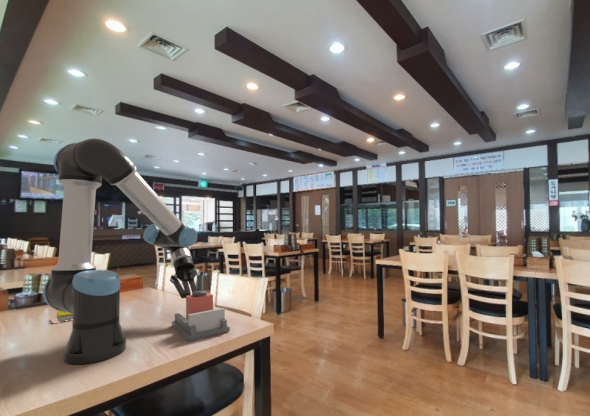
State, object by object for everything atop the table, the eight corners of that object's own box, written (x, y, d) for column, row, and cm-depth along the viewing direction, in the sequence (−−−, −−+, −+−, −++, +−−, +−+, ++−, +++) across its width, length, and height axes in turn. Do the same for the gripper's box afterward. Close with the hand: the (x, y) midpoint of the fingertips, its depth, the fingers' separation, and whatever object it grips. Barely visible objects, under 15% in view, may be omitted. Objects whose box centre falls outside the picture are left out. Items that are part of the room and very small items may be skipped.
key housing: (188, 341, 97) (187, 317, 98) (171, 325, 114) (171, 304, 114) (229, 331, 106) (229, 309, 106) (208, 317, 122) (208, 298, 122)
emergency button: (97, 306, 129) (51, 313, 119) (97, 317, 129) (51, 325, 119) (93, 302, 136) (50, 309, 126) (93, 312, 136) (50, 320, 126)
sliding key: (190, 328, 105) (190, 294, 106) (186, 324, 109) (186, 292, 110) (213, 323, 110) (212, 291, 110) (208, 319, 114) (207, 289, 115)
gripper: (196, 266, 133) (211, 314, 119) (164, 269, 125) (176, 321, 111) (200, 254, 129) (216, 302, 115) (168, 257, 121) (180, 309, 107)
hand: (196, 311), depth 113 cm, fingers closed
